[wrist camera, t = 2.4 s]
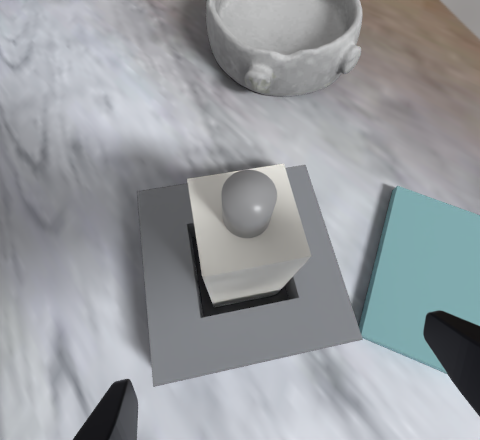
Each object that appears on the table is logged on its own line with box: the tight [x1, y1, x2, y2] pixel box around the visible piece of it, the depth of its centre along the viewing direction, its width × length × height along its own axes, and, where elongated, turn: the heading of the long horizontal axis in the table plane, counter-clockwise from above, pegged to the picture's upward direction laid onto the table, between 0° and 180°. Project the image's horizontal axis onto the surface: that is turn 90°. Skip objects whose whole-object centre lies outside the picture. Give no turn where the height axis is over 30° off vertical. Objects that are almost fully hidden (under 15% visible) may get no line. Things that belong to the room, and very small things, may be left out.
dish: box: [206, 0, 362, 96], centre depth 28 cm, size 14×14×5 cm
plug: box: [187, 164, 311, 307], centre depth 16 cm, size 4×4×12 cm
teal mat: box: [359, 186, 480, 374], centre depth 22 cm, size 12×12×1 cm
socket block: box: [137, 165, 363, 387], centre depth 21 cm, size 12×12×3 cm
